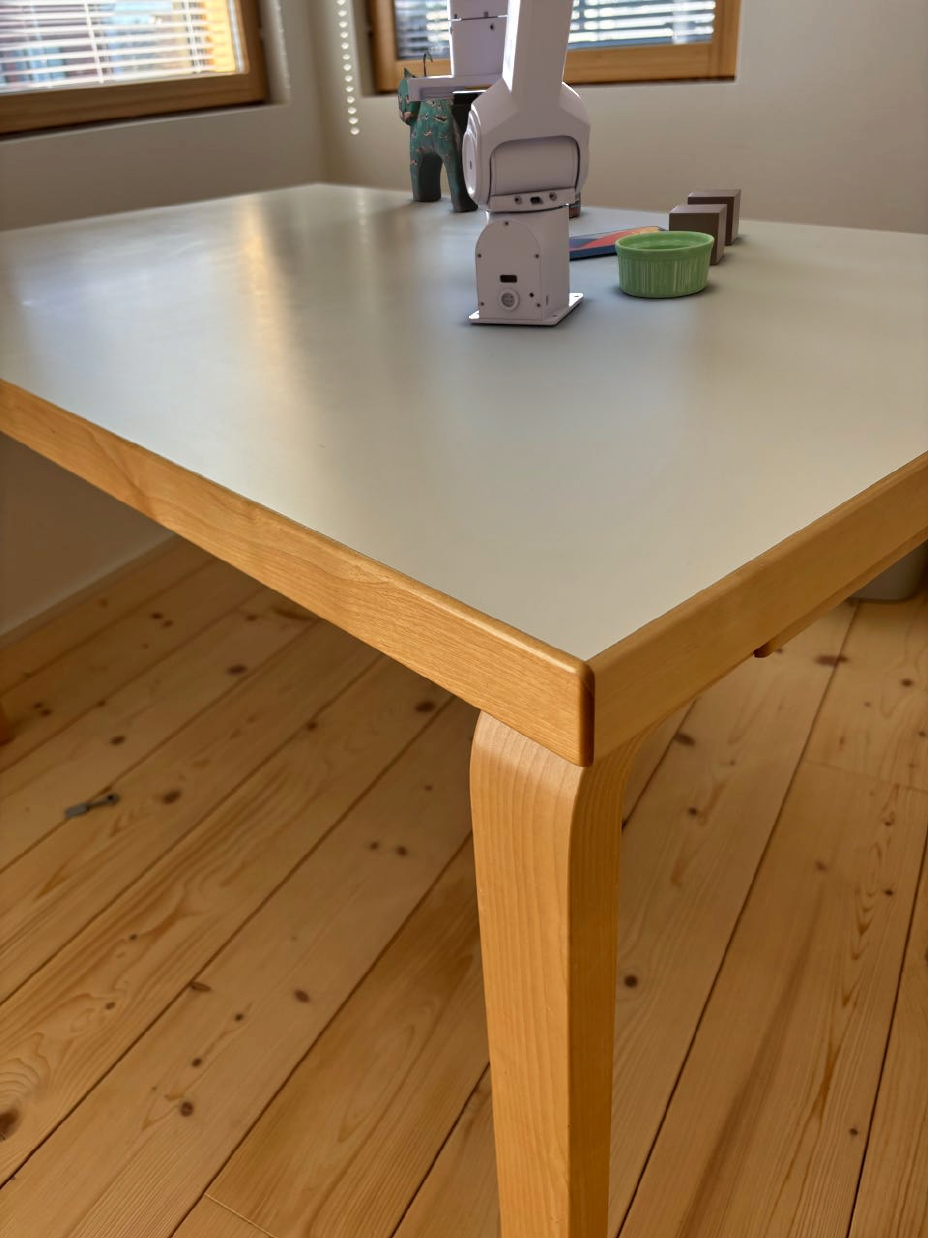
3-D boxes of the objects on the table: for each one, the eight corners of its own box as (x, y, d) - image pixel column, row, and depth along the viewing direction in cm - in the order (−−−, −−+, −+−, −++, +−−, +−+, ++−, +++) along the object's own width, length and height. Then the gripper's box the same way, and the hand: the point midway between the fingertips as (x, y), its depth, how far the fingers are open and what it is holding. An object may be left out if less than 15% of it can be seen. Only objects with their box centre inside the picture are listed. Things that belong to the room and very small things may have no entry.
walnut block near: (716, 264, 101) (719, 212, 98) (667, 264, 103) (668, 212, 100) (724, 254, 105) (727, 203, 102) (676, 254, 107) (678, 204, 104)
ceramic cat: (402, 199, 156) (389, 52, 146) (440, 194, 158) (430, 49, 148) (452, 214, 140) (441, 51, 130) (493, 208, 142) (486, 47, 132)
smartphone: (531, 252, 113) (530, 242, 113) (654, 234, 116) (654, 224, 115) (551, 263, 107) (550, 253, 107) (681, 245, 110) (681, 234, 109)
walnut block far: (731, 245, 109) (734, 195, 106) (685, 245, 111) (687, 196, 108) (737, 236, 113) (741, 188, 110) (693, 236, 115) (695, 189, 112)
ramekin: (720, 278, 96) (723, 230, 93) (700, 301, 89) (702, 249, 86) (629, 276, 99) (629, 230, 97) (603, 298, 92) (603, 248, 90)
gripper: (568, 11, 91) (570, 172, 98) (423, 23, 96) (435, 175, 103) (545, 13, 86) (549, 183, 93) (393, 25, 91) (407, 186, 98)
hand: (487, 180), depth 98 cm, fingers closed
